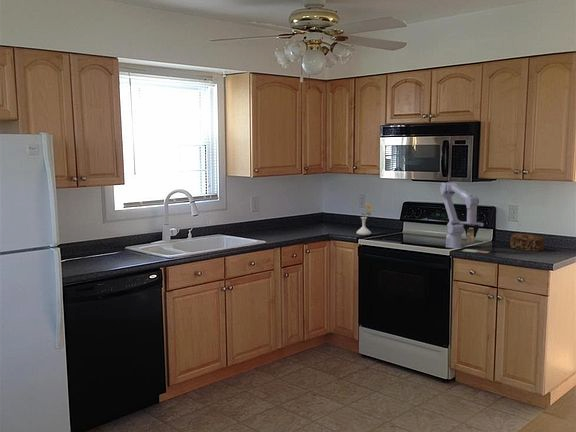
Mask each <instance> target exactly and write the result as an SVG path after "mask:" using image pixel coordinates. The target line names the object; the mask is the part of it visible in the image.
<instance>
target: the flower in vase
mask: <svg viewBox="0 0 576 432" xmlns="http://www.w3.org/2000/svg"><path fill="white" fill-rule="evenodd" d="M364 208H365V210H366V212H365V213H362V212H361V215H362V216H360V219H361V223H362V224H361V225H362V226H361V227H360V228H359V229H358V230H357V231H356V235H358V236H369V235H371V234H372V232H371V230H369V228H367V226H366V221H367V218H368V217H367V216H371V215H372V214H371V212H373V211H374V207H373V204H371V203H370V202H366V203H365V204H364ZM366 215H367V216H366Z"/></svg>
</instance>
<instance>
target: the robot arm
mask: <svg viewBox="0 0 576 432" xmlns="http://www.w3.org/2000/svg"><path fill="white" fill-rule="evenodd" d="M439 191H440V194H441V196H442V200H443V203H444V206H445V210H446V213H447V217H448V220H449V221H448V223H447V224H446V226H447V232H448V233H447V234H446V236H445V248H450V249H461V248H463V246H462V236H463V233H465V237H466V238H467V229H470V227H471V226H473V227H472V229H474V237H475V238H476V237H477V234H478V231H479V229H480V227H484V222H477V214H478V213H477V212H478V209H477V208H478V205H479V203H480V199H479V197H478V196H477V195H475V196H474V195H473V194H471V193H470V192H469V191H468V190H463V189H461V187H459V185H458V183H456V182H442V183H441V185H440V186H439ZM455 193H456V194H457V195H458V196H459V198H460V199H461V200H462V201H464V203H465V206H466V221H461V220H460V219H458V215H457V212H456V209H455V206H454V202H453V198H452V197H453V196H454V195H455Z"/></svg>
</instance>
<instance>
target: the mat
mask: <svg viewBox="0 0 576 432" xmlns="http://www.w3.org/2000/svg"><path fill="white" fill-rule="evenodd" d="M478 251H481V250H480V249H472V248H471V249H469V248H465V249H463V250H461V252H467V253H468V252H469V253H479V252H478Z"/></svg>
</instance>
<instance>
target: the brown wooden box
mask: <svg viewBox="0 0 576 432" xmlns="http://www.w3.org/2000/svg"><path fill="white" fill-rule="evenodd" d="M475 238H476V237H474V228H469V229H467V237H466V242H467V243H468V242H469V243H475V241H476V239H475Z"/></svg>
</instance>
